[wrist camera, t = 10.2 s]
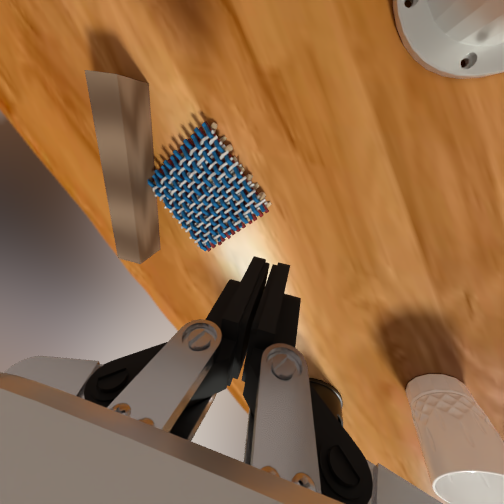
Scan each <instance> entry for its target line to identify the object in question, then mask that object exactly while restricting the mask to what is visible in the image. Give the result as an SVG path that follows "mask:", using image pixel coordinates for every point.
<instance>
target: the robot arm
mask: <svg viewBox="0 0 504 504" xmlns="http://www.w3.org/2000/svg"><path fill="white" fill-rule="evenodd" d="M405 1H407V0H393V10H394V16H395V22H396V27H397V30H398V33H399V35H400V38H401V40H402V43H403V45H404V46H405V48H406V49H407V51H408V52H409V53H410V55H411V56H412V57H413V59H414V60H415V61H417V62H418V63H419V64H420V65H422V66H423V67H424V68H425V69H427V70H429V71H432V72H434V73H436V74H438V75H441V76H445V77H451V78H457V79H467V78H481V77H485V76H490V75H494V74H498V73H502V72H504V0H409V1H410V2H411V7H410V8H407V7H405V5H404V2H405ZM461 60H464V61H465V66H464V67H463V68H462V67H461V65H460V64H461ZM265 262H266V259H262V258H258V257H253V259H252V261H251V263H250V265H249V267H248V269H247V271H246V273H245V275H244V277H243V279H242V280H241V282H239V281H235V280H229V281H228V283H227V285H226V286H225V288H224V290H223V291H222V293H221V295H220V296H219V298H218V300H217V301H216V303H215V305H214V306H213V308H212V310H211V311H210V313H209V315H208V316H207V318H206V320H201V319H199V320H194V321H191V322H189V323H187V324H185V325H184V326H183V327H182V328H181V329H180V330H179V331H178V332H177V333H176V334H175V335H174V336H173V337H172V338H171V340H169V342H166V343H163V344H160V345H157V346H154V347H151V348H148V349H145V350H142V351H139V352H137V353H134V354H131V355H128V356H125V357H122V358H119V359H116V360H113V361H111V362H108V363H106V364H104V365H102V364H100V363H99V361H92V360H81V359H70V358H58V357H47V356H35V357H30V358H27V359H24V360H22V361H20V362H18V363H16V364H14V365H13V366H11V367H10V368H9V369H8V370H7V371H5V372H4V373H2V372H0V504H443V503H441V502H439V501H438V500H436V499H435V498H433V497H431V496H430V495H428V494H427V493H425V492H423V491H422V490H420V489H419V488H417V487H416V486H414V485H412V484H411V483H409V482H408V481H406V480H404V479H403V478H401V477H400V476H398V475H396V474H395V473H393V472H392V471H390V470H388V469H387V468H385V467H384V466H382V465H381V464H379V463H378V464H377V465H374V464H372V463H371V462H369V461H368V460H366V459H365V457H364V455H363V454H362V452H361V450H360V449H359V448H358V446H357V445H356V444H355V442H354V441H353V440H352V438H351V437H350V436H349V434H348V433H347V432H346V430H345V429H344V428H343V426H342V425H341V424H340V422H339V421H338V420H337V418H336V417H335V416H334V414H333V413H332V412H331V410H330V409H329V408H328V407H327V405H326V404H325V403H324V401H323V400H322V399H321V397H320V396H319V395H318V393H317V392H316V391H315V389H314V388H313V387H312V385H311V384H310V383H309V375H308V367H307V363H306V360H305V358H304V357H303V355H302V354H301V353H300V352H299V351H298V350H297V349H296V348H295V344H296V336H297V327H298V318H299V310H300V301H301V299H300V298H298V297H294V296H291V295H287V294H284V291H285V286H286V282H287V277H288V273H289V268H290V265H287V264H282V263H278V265H273V266H272V269H271V272H270V274H269V277H268V280H267V283H266V279H267V274H268V269H269V263H265ZM265 284H266V286H265ZM246 353H247V354H246ZM245 356H246V359H245ZM244 359H245V365H244V370H243V376H242V381H244V382H245V387H244V392H243V396H244V398H245V400H246V402H247V404H248V406H249V408H250V410H249V416H248V426H247V435H246V444H245V453H244V462H241V461H238V460H236V459H233V458H231V457H228V456H226V455H223V454H221V453H218V452H216V451H213V450H211V449H208V448H206V447H203V446H201V445H198V444H196V443H193V442H191V440H192V438H193V437H194V435H195V433H196V431H197V429H198V428H199V426H200V424H201V422H202V420H203V419H204V417H205V415H206V413H207V412H208V410H209V408H210V406H211V404H212V403H213V401H214V399H215V396H216V394H217V393H218V392H220V391H222V390H224V389H226V387H227V385H228V386H230V384H231V381H232V379H233V378H235V379H238V377H239V374H240V371H241V368H242V365H243V362H244Z"/></svg>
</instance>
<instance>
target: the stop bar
mask: <svg viewBox="0 0 504 504" xmlns="http://www.w3.org/2000/svg"><path fill="white" fill-rule="evenodd" d="M85 74H86V80H87V86H88V91H89V97H90V102H91V108H92V114H93V119H94V125H95V131H96V136H97V142H98V147H99V153H100V159H101V164H102V170H103V176H104V181H105V187H106V192H107V198H108V204H109V209H110V215H111V221H112V226H113V232H114V238H115V243H116V249H117V254H118V258H120V259H123V260H127V261H131V262H135V263H138V264H141V263H143V262H144V261H145V260H147V259H148V258H149V257H151V256H152V255H153V254H155V253H156V252H157V251H159V250H160V237H159V223H158V209H157V197H155V196H154V195H155V191H154V192H153V188H152V187H151V186H150V185H148V179H150V181H151V182H152V183H153V182H154V181H153V177H152V176H153V175H154V174H155V172H154V171H155V167H154V153H153V139H152V126H151V112H150V98H149V84H148V83H145V82H141V81H138V80H135V79H131V78H128V77H125V76H121V75H118V74H112V73H104V72H96V71H89V70H85Z"/></svg>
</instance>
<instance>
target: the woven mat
mask: <svg viewBox="0 0 504 504" xmlns="http://www.w3.org/2000/svg"><path fill="white" fill-rule="evenodd" d="M202 126H203V128H204V130H205V133H204V131H203V129H202V128H201V127H200V128H199V129H198V128H197V127H196V128H195V129H194V131H195V132H196V133H193V134H192V135H191V136H190V137H191V138H192V139H193V142H194V143H193V142H192V141H191V139H188V140H187V139H185V140H184V141H183V142H184V144H183V145H182V146H181V147H180V148H181V149H179V150H178V151H177V150H174V151H173V153H174V155H172V156H171V157H170V158H171V159H169V160H168V161H167V160H165V161H164V162H163V163H164V165H163V166H162V167H161V168H162V169H163V170H162V169H161V168H160V169H159V170H155V171H154V172H155V174H154V175H153V176H152V177H153V181H154V182H153V183H152V182H151V181H150V179H148V185H150V186H151V187H152V188H153V192H154V191H155V195H154V196H155V197H157V196H159V197H160V201H161V200H162V199H163V202H164V203H165V205H166V206H165V207H164V208H165V209H166V208H169V209H171V210H170V211H169V212H170V213H171V212H173V214H174V215H173V216H172V217H173V218H176V219H178V220H180V221H179V222H178V223H179V224H180V223H182V226H181V228H186V229H187V230H185V231H186V232H188V231H189V232H190V235H191V237H190V239H192V238H193V239H195V240H196V241H194V242H195V243H197V242H198V244H199V245H197V247H199V246H200V248H201V249H203V250H204V251H206V250H208V252H209V251H210V250H211V248H210V247H211V246H212V248H214V247H215V246H216V245H215V244H217V243H218V245H221V244H222V243H221V241H222V242H223V241H225V239H224V238H226V237H227V238H228V239H229V238H231V236H230V235H231V234H232V235H234V234H235V232H234V231H237V232H239V231H240V230H241V229H240V228H241V227H242V228H245V227H246V226H245V224H247V223H249V224H251V223H253V222H252V219H253V220H254V221H255V220H257V218H256V216H260V217H262V216H263V213H262V212H264V211H265V213H267V212H269V210H268V209H267V208H268V207H269V206H270V205H271V204H272V203H271V202H270V201H269V202H267V201H266V200H265V199H264V198H265V197H266V195H265V193H264V192H260V193H258V192H257V191H255V190H256V189H257V188H259V187H260V186H259V184H258V183H255V184H254V183H253V184H251V183H252V182H251V180H252V177H253V176H252V175H250V174H247V175H246V176H244V174H243V172H244V171H245V169H244V168H243V166H242V165H241V164H240V165H238V164H239V163H238V162H237V161H238V159H237V158H236V156H234V157H233V158H232V156H231V154H230V151H232V150H233V147H232V145H230V144H228V145H227V146H225V145H223V142H224V141H225V140H226V139H227V138H226V137H225V135H224V136H223V137H221V138H220V139H218V137H217V135H216V134H215V131H216V128H217V124H215V123H214V122H213V124H212V125H211V127H210V126H209V125H208V123H207V122H204V123H203V124H202ZM198 136H199V137H200V138H199V137H198ZM209 138H210V139H211V140H209ZM213 142H214V143H213ZM203 143H204V144H203ZM212 143H213V144H212ZM187 147H188V148H189V149H188V148H187ZM217 149H218V151H217ZM211 154H213V155H211ZM223 158H225V160H226V162H225V161H224V159H223ZM191 163H192V164H191ZM200 164H202V165H200ZM218 164H219V165H221V166H220V167H219V165H218ZM212 168H213V169H214V170H213V169H212ZM232 169H233V170H232ZM226 175H227V176H226ZM188 176H189V177H188ZM220 179H221V180H220ZM239 179H240V180H239ZM231 182H232V183H233V184H232V183H231ZM227 188H228V190H227ZM220 191H221V192H220ZM251 195H252V198H251V197H250V196H251ZM233 197H234V198H233ZM197 199H198V200H197ZM262 199H263V200H262ZM228 201H229V202H228ZM265 201H266V202H265ZM177 202H178V204H177ZM264 202H265V203H264ZM256 203H257V204H256ZM238 204H240V206H241V207H240V206H239V205H238ZM258 206H259V207H258ZM234 210H235V211H234ZM228 212H229V213H228ZM238 215H239V216H238ZM205 218H206V219H205ZM185 222H186V223H185ZM235 222H236V223H235ZM213 237H214V238H213Z"/></svg>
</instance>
